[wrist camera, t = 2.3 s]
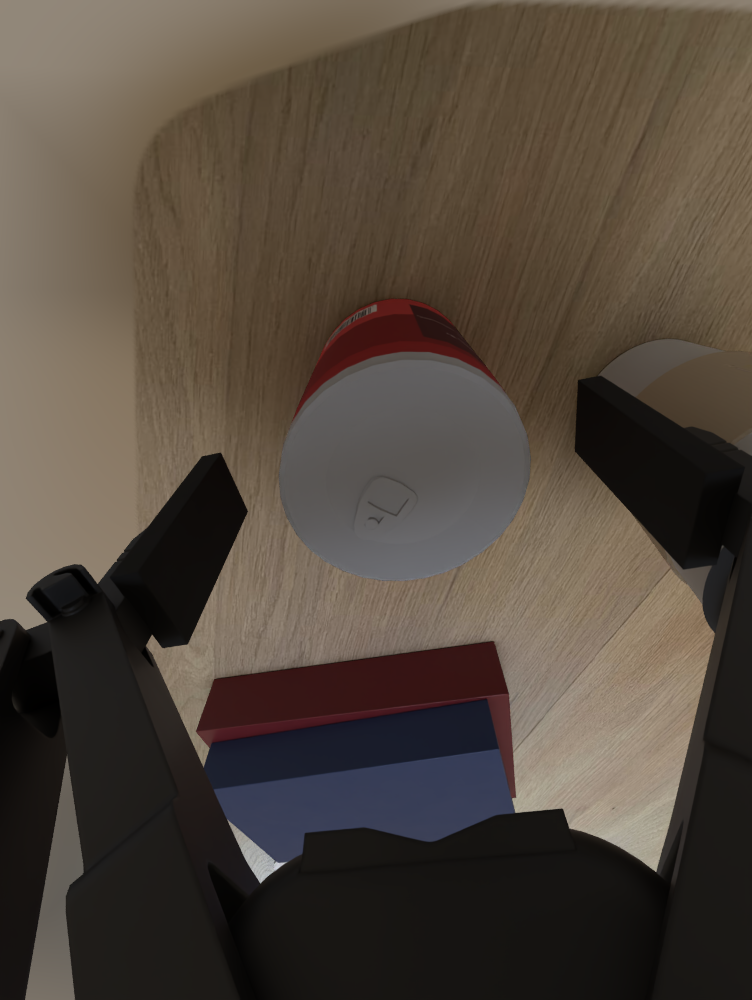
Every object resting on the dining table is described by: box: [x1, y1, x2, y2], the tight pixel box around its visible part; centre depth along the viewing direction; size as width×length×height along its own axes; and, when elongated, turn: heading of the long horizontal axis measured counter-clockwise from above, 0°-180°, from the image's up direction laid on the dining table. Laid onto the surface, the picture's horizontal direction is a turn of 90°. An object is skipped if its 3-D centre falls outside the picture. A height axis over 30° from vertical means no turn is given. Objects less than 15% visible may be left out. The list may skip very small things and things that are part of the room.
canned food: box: [279, 299, 531, 581], centre depth 17 cm, size 8×8×11 cm
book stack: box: [196, 642, 516, 863], centre depth 36 cm, size 17×24×8 cm
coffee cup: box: [598, 339, 752, 632], centre depth 17 cm, size 9×9×15 cm
